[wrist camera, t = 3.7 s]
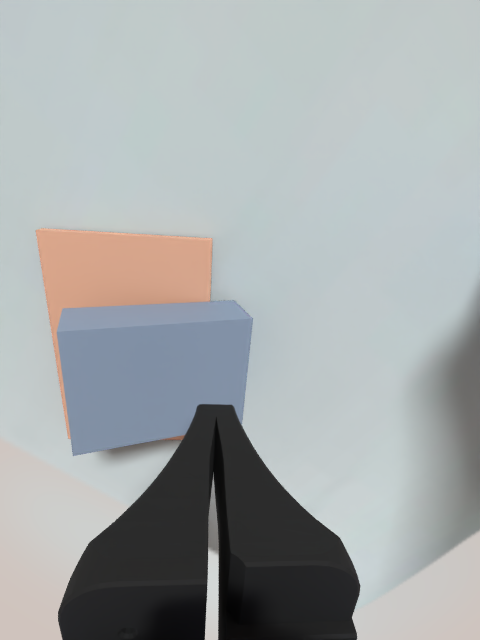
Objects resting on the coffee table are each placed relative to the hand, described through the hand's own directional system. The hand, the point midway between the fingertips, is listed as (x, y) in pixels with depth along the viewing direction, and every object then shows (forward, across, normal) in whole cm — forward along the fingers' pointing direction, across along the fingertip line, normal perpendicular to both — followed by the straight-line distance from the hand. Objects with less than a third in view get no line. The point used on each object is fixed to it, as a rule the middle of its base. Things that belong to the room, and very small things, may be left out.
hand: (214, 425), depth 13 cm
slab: (+5, -1, 0) cm, 5 cm away
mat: (+6, +4, 0) cm, 8 cm away
